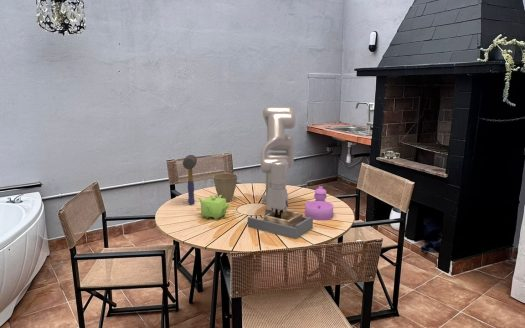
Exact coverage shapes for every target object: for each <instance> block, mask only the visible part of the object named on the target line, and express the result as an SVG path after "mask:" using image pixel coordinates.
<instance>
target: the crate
mask: <svg viewBox="0 0 525 328" xmlns="http://www.w3.org/2000/svg"><path fill="white" fill-rule="evenodd" d="M303 214H304V213H303V212H296V211H292V210H288V211H286V212H282V213H281V219H279V218H275V217H274V213H273V212H271V213H269V214H267V215H265V214H264V216H263V217H264V220H265V221H269V222H273V223H278V224H282V225H286V226H291V227H295V225H297V224H299V223H300V222H302V221H303V217H304V216H303Z"/></svg>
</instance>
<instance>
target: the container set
mask: <svg viewBox="0 0 525 328" xmlns="http://www.w3.org/2000/svg"><path fill="white" fill-rule="evenodd" d="M313 198H314V199H315V200H312V201H311V200H310V201H307V202H306V203H305V204H304V217H308V218H309V217H312V219H313V221H329V220H331V219H333V218H334V204H333V203H331V202H330V201H329V202H328V201H327V200H326V199H327V190H326V189H325V188H323V186H321V185H320V186H318V188H316V189H314V195H313Z"/></svg>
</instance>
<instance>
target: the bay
mask: <svg viewBox="0 0 525 328" xmlns="http://www.w3.org/2000/svg"><path fill="white" fill-rule="evenodd" d="M271 212H273V211H272V209H269V208H265V209H264V216H265V215H267V214H269V213H271ZM264 216H263V217H261V218H256V217H251V216H247V227H248V228H252V229H255V230H258V231H263V232H266V233H271V234H273V235H274V234H276V235H279V236H282V237H287V238H290V239H295V240H297V239H298V238H300V237H302V236H303V235H304V234H306V233H307V232H309V231H310V230H312V229H313V228H314V225H313V224H314V220H313V219H312V217H309V218H308V217H306V216H303V221H302V222H300V223H299V224H297V225H295V227H291V226H286V225H282V224H278V223H273V222H269V221H265V220H264Z"/></svg>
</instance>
